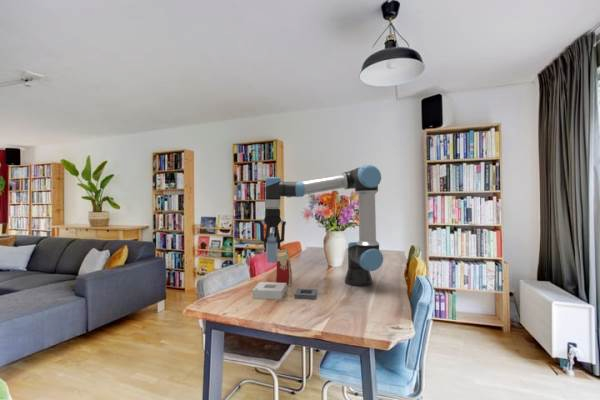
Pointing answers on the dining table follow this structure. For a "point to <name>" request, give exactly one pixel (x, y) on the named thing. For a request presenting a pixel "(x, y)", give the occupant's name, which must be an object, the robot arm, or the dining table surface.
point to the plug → (271, 250)
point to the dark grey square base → (306, 293)
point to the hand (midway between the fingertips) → (272, 255)
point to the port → (269, 290)
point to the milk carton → (283, 268)
